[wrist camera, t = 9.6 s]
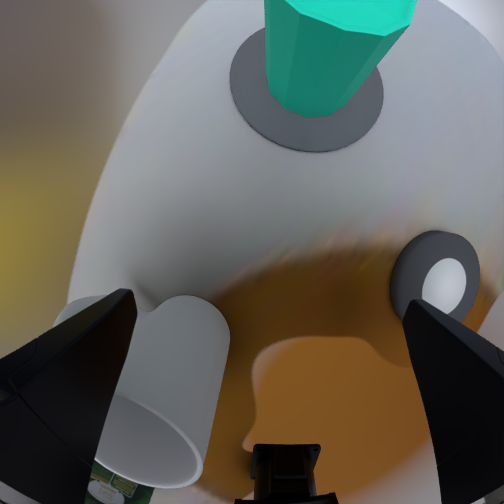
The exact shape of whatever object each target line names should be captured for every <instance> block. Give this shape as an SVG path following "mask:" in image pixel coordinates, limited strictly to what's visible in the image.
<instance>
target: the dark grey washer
mask: <svg viewBox="0 0 504 504" xmlns="http://www.w3.org/2000/svg"><path fill="white" fill-rule="evenodd" d="M479 282H480V266H479V261H478V257H477V254H476V252H475V250H474V248H473V246H472V245H471V244H470V242H469V241H468V240H466V239H465V238H464V237H462V236H460V235H458V234H453V233H448V232H443V231H428V232H425V233H422V234H420V235H418V236H417V237H415V238H414V239H413V240H412V241H410V242H409V243H408V244H407V246H406V247H405V248H404V249H403V251H402V252H401V253H400V255H399V257H398V259H397V261H396V263H395V266H394V268H393V272H392V276H391V282H390V297H391V302H392V306H393V308H394V311H395V312H396V314H397V316H398V317H399V318H400V319H401V320H403V317H404V314H405V312H406V309H407V307H408V304H409V302H410V301H411V300H412V299H423V300H425V301H426V302H428V303H430V304H431V305H433V306H434V307H436V308H438V309H439V310H441V311H443V312H444V313H446V314H447V315H449V316H451V317H452V318H454V319H455V320H457V321H458V322H460V323H461V322H462V320H463V319H464V318H465V317H466V315H467V314H468V313H469V311H470V309H471V307H472V306H473V303H474V301H475V299H476V296H477V292H478V288H479Z"/></svg>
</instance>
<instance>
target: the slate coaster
mask: <svg viewBox="0 0 504 504" xmlns="http://www.w3.org/2000/svg"><path fill="white" fill-rule="evenodd" d="M230 86H231V91H232V94H233V98H234V101H235V103H236V105H237V108H238V110H239V111H240V113H241V114H242V116H243V117H244V119H245V120H246V121H247V122H248V123H249V124H250V126H251V127H253V128H254V129H255V130H256V131H257V132H258V133H260V134H261V135H263V136H264V137H265V138H267V139H269V140H271V141H272V142H274V143H276V144H279V145H281V146H284V147H286V148H290V149H294V150H298V151H305V152H326V151H332V150H337V149H340V148H342V147H345V146H348V145H349V144H351V143H353V142H355V141H356V140H358V139H359V138H361V137H362V136H363V135H365V134H366V133H367V132H368V131H369V130H370V129H371V128H372V126H373V125H374V124H375V122H376V121H377V119H378V117H379V115H380V112H381V109H382V105H383V84H382V80H381V76H380V73H379V71H378V69H377V67H375V68H374V69H373V71H372V72H371V73H370V74H369V76H368V77H367V78H366V79H365V81H364V82H363V83H362V84H361V86H360V87H359V88H358V89H357V91H356V92H355V93H354V94H353V96H352V97H351V98H350V100H349V101H348V102H347V103H346V105H344V106H343V107H341V108H340V109H338V110H337V111H335V112H334V113H332V114H331V115H329V116H317V117H304V116H302V115H299V114H297V113H294V112H292V111H289V110H287V109H284V108H283V107H282V105H281V104H280V103H279V102H278V101H277V100H276V99H275V98H274V97H273V96H272V94H271V93H270V92H269V87H268V81H267V76H266V45H265V28H263V29H261V30H259V31H257V32H255V33H254V34H253V35H251V36H250V37H249V38H248V39H247V40H246V41H245V42H244V43H243V44H242V45H241V46H240V48H239V49H238V51H237V52H236V54H235V56H234V58H233V61H232V64H231V69H230Z"/></svg>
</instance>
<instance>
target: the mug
mask: <svg viewBox="0 0 504 504" xmlns="http://www.w3.org/2000/svg"><path fill="white" fill-rule="evenodd" d="M106 296H107V295H102V296H90V297H85V298H81V299H78V300H76V301H73V302H72V303H70V304H68V305H67V306H66V307H65V308H64V309H63V310H62V311H61V312H60V314H59V315H58V317H57V319H56V321H55V323H54V325H53V327H55V326H57V325H58V324H60V323H62V322H63V321H65V320H67V319H68V318H70V317H72V316H73V315H75V314H77V313H78V312H80V311H82V310H83V309H85V308H87V307H88V306H90V305H92V304H94V303H95V302H97V301H99V300H100V299H102V298H104V297H106ZM136 306H137V305H136ZM137 311H138V315H137V320H136V324H135V327H134V331H133V335H132V339H131V343H130V347H129V351H128V355H127V358H126V361H125V364H124V366H123V369H122V372H121V375H120V378H119V381H118V384H117V386H116V389H115V392H114V395H113V398H112V402H111V405H110V408H109V411H108V414H107V417H106V421H105V424H104V427H103V431H102V434H101V438H100V441H99V445H98V448H97V452H96V456H95V460H96V461H97V462H98V463H100V464H101V465H103V466H104V467H106V468H107V469H109V470H110V471H112V472H114V473H116V474H117V475H119V476H121V477H124V478H126V479H128V480H131V481H133V482H136V483H139V484H143V485H146V486H151V487H157V488H180V487H185V486H188V485H190V484H192V483H194V482H195V481H196V480H198V478H199V477H200V476H201V474H202V471H203V463H204V460H205V456H206V452H207V448H208V444H209V439H210V435H211V430H212V425H213V421H214V416H215V411H216V406H217V402H218V397H219V392H220V388H221V383H222V379H223V374H224V370H225V365H226V361H227V356H228V351H229V345H230V331H229V327H228V324H227V322H226V320H225V318H224V316H223V315H222V314H221V312H220V311H219V310H218V309H217V308H216V307H215V306H213V305H212V304H211V303H209V302H207V301H206V300H204V299H201V298H198V297H195V296H189V295H181V296H175V297H172V298H170V299H168V300H166V301H164V302H163V303H162V304H160V305H159V306H158V307H157V308H156V309H155V310H153V311H151V312H147V311H145V310H143V309H141V308H140V307H138V306H137Z"/></svg>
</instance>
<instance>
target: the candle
mask: <svg viewBox="0 0 504 504" xmlns="http://www.w3.org/2000/svg"><path fill="white" fill-rule="evenodd" d="M416 2H417V1H416V0H264V7H265V45H266V76H267V81H268V87H269V92H270V93H271V94H272V96H273V97H274V98H275V99H276V100H277V101H278V102H279V103H280V104H281V105H282V107H283V108H284V109H287V110H289V111H292V112H294V113H297V114H299V115H302V116H304V117H317V116H329V115H331V114H332V113H334V112H335V111H337V110H338V109H340V108H341V107H343V106H344V105H346V103H347V102H348V101H349V100H350V98H351V97H352V96H353V94H354V93H355V92H356V91H357V89H358V88H359V87H360V86H361V84H362V83H363V82H364V81H365V79H366V78H367V77H368V76H369V74H370V73H371V72H372V71H373V69H374V68H375V67H376V66H377V64H378V63H379V62H380V61H381V59H382V58H383V57H384V56H385V54H386V53H387V52H388V51H389V50H390V48H391V47H392V46H393V45H394V43H395V42H396V41H397V40H398V39H399V37H400V36H401V35H402V34H403V32H404V31H405V30H406V29H407V28H408V26H409V25H410V24H411V20H412V17H413V13H414V9H415V5H416Z"/></svg>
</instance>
